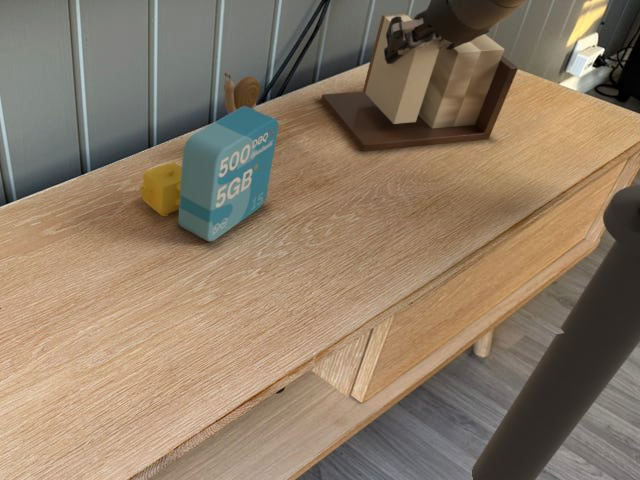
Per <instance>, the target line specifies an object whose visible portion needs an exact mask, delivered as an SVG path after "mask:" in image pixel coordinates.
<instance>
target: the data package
mask: <svg viewBox="0 0 640 480" xmlns="http://www.w3.org/2000/svg"><path fill="white" fill-rule="evenodd" d="M278 132H279V122H278V119H276V118H274V117H273V116H270V115H268V114H265V113H263V112H261V111H258V110H256V109H255V108H254V109H251V108H249V107H247V106H243V107H241V108H239V109H237V110H235V111H234V112H232V113H230V114H228V113H227V114H226V115H224V116H223V117H221V118H219V119H218V120H216V121H214V122H212V123H211V124H209V125H207V126H205V127H204V128H201V129H200V130H198V131H197V132H195V133H193V134H191V136H190V137H188V139H187V140H186V142H185V144H184V146H183V150H182V164H181V167H182V175H181V189H180V203H179V209H178V218H177V219H178V220H177V223H178V225H179V227H181V228H183V229H185V230H186V231H188V232H190V233H191V234H194V235H195V236H196V237H197V236H198V237H199V238H201V239H202V240H205V241H207V242H209V243H210V242H214V241H216V240H217V239H218V238H220V237H221V236H223V235H224V234H225V233H227V232H228V231H229V230H231V229H232V228H234V227H235V226H237V225H239V223H241V222H242V221H244V220H246V219H247V218H249V216H250V215H252V214H254V213H255V212H256V211H258V210H259V209H260V208H261V207H262V205H263V204H264V202H265V201H266V198H267V194H268V190H269V184H270V178H271V172H272V167H273V160H274V155H275V150H276V149H275V148H276V142H277V138H278Z"/></svg>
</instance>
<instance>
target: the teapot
mask: <svg viewBox="0 0 640 480" xmlns="http://www.w3.org/2000/svg"><path fill="white" fill-rule="evenodd" d="M181 175H182V165H179V164H178V163H176V161H172V162H169V163H168V162H167V163H166V164H163V165H160V166H156V167H155V168H152V169H150V170H147V171H145V172H144V173H143V179H142V186H140V187H139V188H138V189H139V190H140V192H141V199H142V201H143V202H144V203H146V205H147V206H149V207H150V208H151V209H153V211H155V212H156V213H158V214H159V215H160V216H162V217H168V216H169V215H170V213H173V212H176V211H179V203H180V189H181Z"/></svg>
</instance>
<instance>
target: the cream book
mask: <svg viewBox="0 0 640 480" xmlns="http://www.w3.org/2000/svg"><path fill="white" fill-rule="evenodd" d="M397 16H400V17H401V19H402V20H404V22H406V21H410V20H413V19H412V18H411V17H410V16H409V15H408V14H407V13H398V14H397V13H393V14H382V15H381V18H380V22H379V26H378V30H377V34H376V38H375V40H374V41H375V42H374V45H373V49H372V53H371V56H370V60H369V65H368V69H367V72H366V77H365V80H364V84H363V89H362V91H363V92H364V93H365V94H366V95H367V96H368V97H369V98H370V99H371V100H372V101H373V102H374V103H375V105H376V106H377V107H378V108H379V109H380V110H381V111H382V112H383V113H384V114H385V115H386V116H387V117H388V119H389V120H390V121H391V122H392V123H393V124H399V123H410V122H416V120H417V117H418V114H419V111H420V107H421V104H422V101H423V98H424V95H425V92H426V89H427V86H428V83H429V80H430V76H431V73H432V70H433V67H434V64H435V61H436V58H437V55H438V52H439V49H440V48H439V49H438V45H439V44H438V42H436V43H430V44H428V45H427V46H425V47H423V48H421V49H420V50H411V51H409V52H407V53H405V54H404V55H403V56H402V57H400V58H399V59H398V60H396V61H395V62H394V63H392V64H387V63H386V61H385V55H384V49H385V48H386V47H387V46H388V45H387V38H386V33H387V30H388V27H389V24H390V22H391V19H392V18H394V17H397ZM406 41H407V44H408V36H407V37H406Z"/></svg>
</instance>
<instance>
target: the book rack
mask: <svg viewBox="0 0 640 480" xmlns="http://www.w3.org/2000/svg"><path fill="white" fill-rule="evenodd" d="M504 52H505V48H504V47H502V46H501V45H500V44H499V43H497V42H496V41H494V40H493V39H492V38H491V37H489V36H488V35H487V34H483V35H481V36H479V37H477V38H475V39H474V40H472V41H470V42H468V43H464V44H462V45H460V46H457V47H455V48H453V49H451V50H447V49H446V48H442V49H441V50H440V51H439V52H438V55H437V58H436V61H435V64H434V67H433V70H432V73H431V76H430V80H429V83H428V86H427V89H426V92H425V95H424V98H423V101H422V104H421V107H420V111H419V114H418V117H417V120H416V122H410V123H399V124H393V123H392V122H391V121H390V120H389V119H388V117H387V116H386V115H385V114H384V113H383V112H382V111H381V110H380V109H379V108H378V107H377V106H376V105H375V103H374V102H373V101H372V100H371V99H370V98H369V97H368V96H367V95H366V94H365V93H364V92H363V90H362V91H350V92H336V93H324V94H323V93H322V94H321V99H320V101H321V102H322V104H323V105H324V106H325V107H326V109H327V110H328V111H329V112H330V114H331V115H332V116H333V117H334V119H335V120H336V121H337V122H338V123H339V125H340V126H341V127H342V128H343V130H344V131H345V132H346V133H347V134H348V136H349V137H350V138H351V139H352V141H353V142H354V143H355V144H356V145H357V147H358V148H359V149H360V151H362V152H368V151H378V150H379V151H380V150H388V149H399V148H411V147H420V146H429V145H441V144H442V145H443V144H453V143H461V142H462V143H463V142H473V141H482V140H483V141H484V140H489V139H490V137H491V135H492V132H493V130H494V128H495V125H496V124H497V123H496V122H497V120H498V118H499V115H500V113H501V111H502V108H503V106H504V103H505V101H506V98H507V96H508V94H509V91H510V89H511V87H512V85H513V82H514V79H515V77H516V75H517V73H518V70H519V67H518V66H517V65H515V64H514V63H513V62H512V61H510V60H509V59H507V58H506V57H505V56H503V54H504Z"/></svg>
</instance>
